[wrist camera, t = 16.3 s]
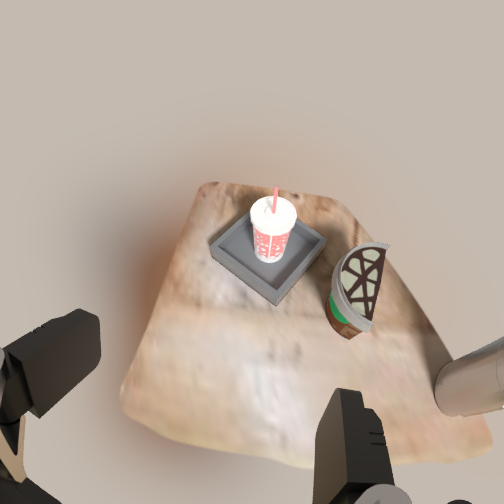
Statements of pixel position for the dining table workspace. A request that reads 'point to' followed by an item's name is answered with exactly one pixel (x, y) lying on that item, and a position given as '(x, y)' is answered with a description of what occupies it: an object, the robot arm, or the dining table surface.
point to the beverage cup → (272, 226)
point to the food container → (355, 289)
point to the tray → (262, 273)
